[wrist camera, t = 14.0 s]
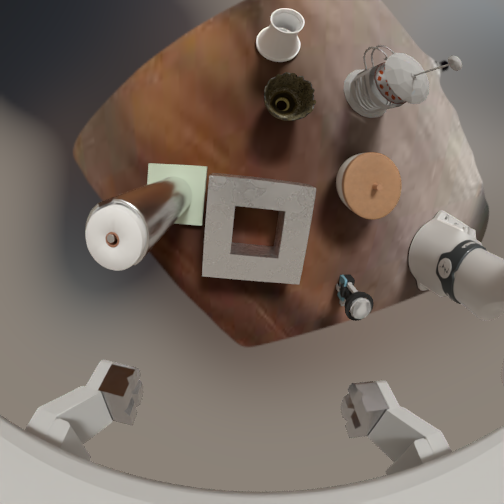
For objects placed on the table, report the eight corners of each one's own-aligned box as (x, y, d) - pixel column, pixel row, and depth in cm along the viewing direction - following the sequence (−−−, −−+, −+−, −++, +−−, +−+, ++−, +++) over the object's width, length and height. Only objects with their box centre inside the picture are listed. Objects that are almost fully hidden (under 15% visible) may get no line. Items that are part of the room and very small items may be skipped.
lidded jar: (327, 150, 44) (347, 150, 35) (380, 153, 45) (408, 155, 36) (327, 210, 48) (346, 223, 39) (378, 209, 48) (405, 221, 39)
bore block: (306, 184, 46) (316, 187, 40) (292, 270, 51) (299, 284, 46) (212, 173, 44) (209, 175, 39) (205, 262, 50) (201, 276, 44)
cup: (303, 126, 43) (317, 121, 35) (260, 126, 42) (265, 119, 35) (302, 86, 40) (314, 73, 33) (258, 85, 40) (263, 71, 32)
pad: (207, 166, 44) (206, 166, 43) (202, 224, 47) (201, 225, 46) (150, 163, 43) (148, 163, 42) (147, 219, 46) (146, 221, 45)
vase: (247, 47, 37) (250, 23, 28) (271, 21, 35) (279, -6, 26) (284, 69, 39) (295, 49, 30) (307, 42, 37) (322, 20, 28)
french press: (358, 124, 43) (452, 110, 19) (329, 68, 39) (403, 11, 15) (397, 110, 42) (494, 96, 18) (371, 56, 38) (454, 11, 14)
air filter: (196, 182, 44) (152, 211, 20) (186, 218, 46) (139, 283, 22) (160, 172, 43) (84, 192, 19) (151, 208, 45) (76, 262, 21)
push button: (351, 301, 54) (370, 328, 45) (327, 303, 54) (344, 331, 45) (356, 272, 52) (378, 295, 43) (332, 273, 52) (350, 297, 42)
